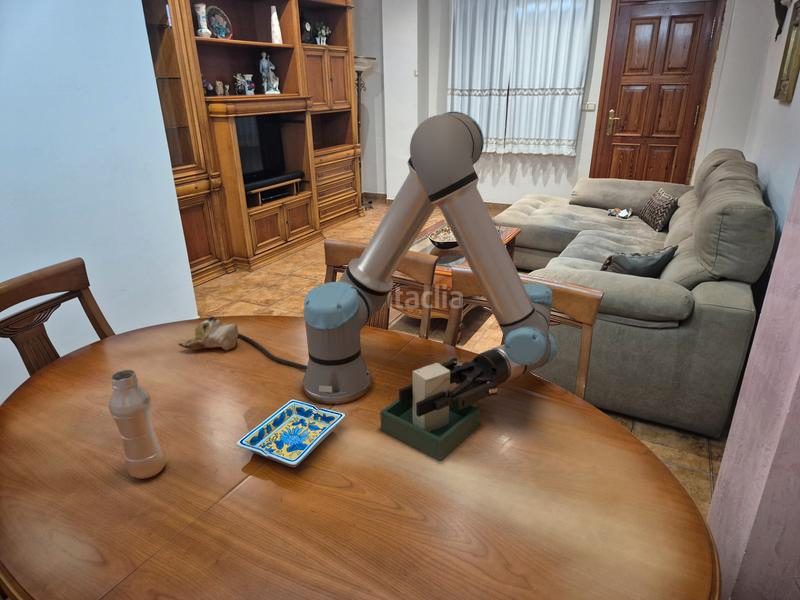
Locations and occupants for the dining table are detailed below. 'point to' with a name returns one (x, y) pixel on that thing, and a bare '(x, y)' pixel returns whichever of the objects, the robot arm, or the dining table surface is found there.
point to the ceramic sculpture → (213, 335)
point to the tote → (437, 441)
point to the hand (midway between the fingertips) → (408, 402)
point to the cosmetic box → (425, 386)
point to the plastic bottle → (136, 426)
